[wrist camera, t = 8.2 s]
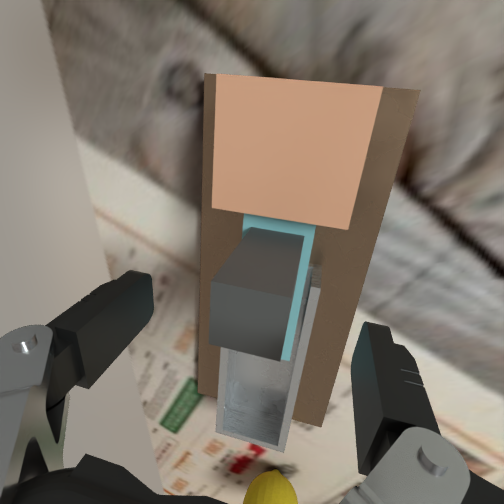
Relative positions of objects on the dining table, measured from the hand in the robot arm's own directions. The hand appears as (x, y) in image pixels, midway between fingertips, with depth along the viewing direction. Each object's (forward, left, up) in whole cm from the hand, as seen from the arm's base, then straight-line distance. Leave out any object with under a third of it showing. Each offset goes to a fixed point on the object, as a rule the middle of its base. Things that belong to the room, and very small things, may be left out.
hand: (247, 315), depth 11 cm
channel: (+5, 0, -11) cm, 12 cm away
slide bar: (+1, 0, -9) cm, 10 cm away
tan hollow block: (-5, 0, -11) cm, 12 cm away
